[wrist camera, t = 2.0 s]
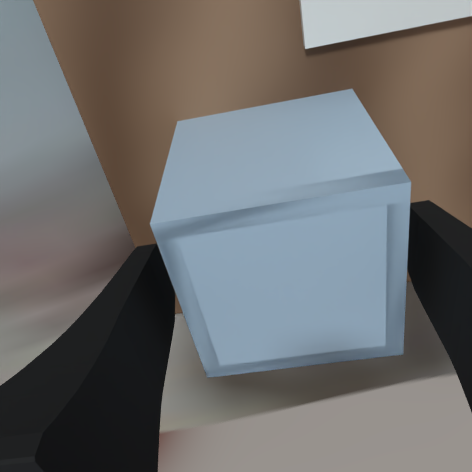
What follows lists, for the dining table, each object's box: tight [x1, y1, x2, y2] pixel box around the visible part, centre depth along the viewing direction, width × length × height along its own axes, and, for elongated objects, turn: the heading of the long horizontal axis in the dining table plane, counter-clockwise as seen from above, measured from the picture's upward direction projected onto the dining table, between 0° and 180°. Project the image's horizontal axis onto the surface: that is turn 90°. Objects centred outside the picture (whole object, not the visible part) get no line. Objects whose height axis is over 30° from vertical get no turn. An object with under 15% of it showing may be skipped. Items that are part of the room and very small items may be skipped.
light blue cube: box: [150, 89, 411, 378], centre depth 14 cm, size 6×6×6 cm
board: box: [33, 0, 472, 314], centre depth 14 cm, size 18×20×1 cm
